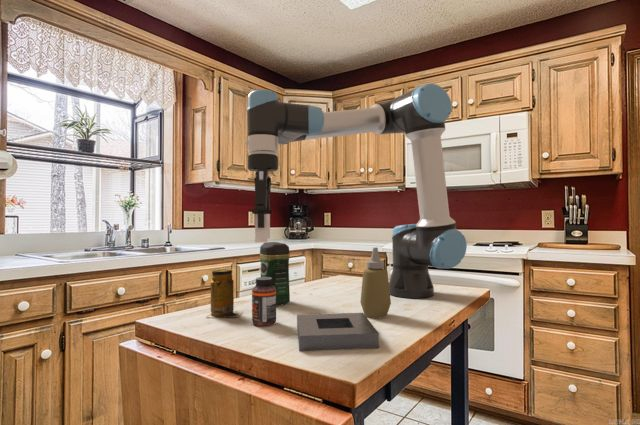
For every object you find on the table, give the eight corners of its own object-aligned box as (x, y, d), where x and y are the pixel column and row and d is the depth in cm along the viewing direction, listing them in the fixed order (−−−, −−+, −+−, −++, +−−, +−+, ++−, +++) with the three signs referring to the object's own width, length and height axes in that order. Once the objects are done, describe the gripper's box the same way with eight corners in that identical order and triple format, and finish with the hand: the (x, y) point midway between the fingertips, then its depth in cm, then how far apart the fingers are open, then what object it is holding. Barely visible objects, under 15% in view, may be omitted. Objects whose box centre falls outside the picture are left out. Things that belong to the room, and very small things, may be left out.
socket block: (363, 325, 93) (362, 312, 93) (378, 348, 77) (378, 333, 77) (297, 327, 92) (296, 314, 92) (299, 351, 76) (299, 335, 76)
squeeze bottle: (388, 321, 97) (387, 249, 97) (356, 318, 99) (356, 248, 99) (393, 313, 104) (393, 246, 104) (364, 310, 107) (363, 246, 107)
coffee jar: (293, 304, 115) (293, 242, 115) (269, 307, 111) (269, 243, 111) (279, 298, 124) (279, 240, 124) (256, 301, 119) (256, 241, 119)
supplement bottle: (247, 323, 96) (247, 277, 96) (268, 319, 99) (268, 275, 99) (259, 328, 91) (258, 280, 91) (280, 324, 95) (280, 278, 95)
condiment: (213, 311, 108) (213, 268, 108) (243, 311, 108) (243, 268, 108) (205, 318, 101) (205, 272, 101) (238, 318, 101) (237, 272, 101)
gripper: (252, 161, 108) (252, 237, 108) (241, 145, 83) (241, 244, 83) (279, 161, 108) (279, 237, 108) (276, 146, 83) (277, 244, 83)
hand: (263, 240), depth 95 cm, fingers open, 13 cm apart
